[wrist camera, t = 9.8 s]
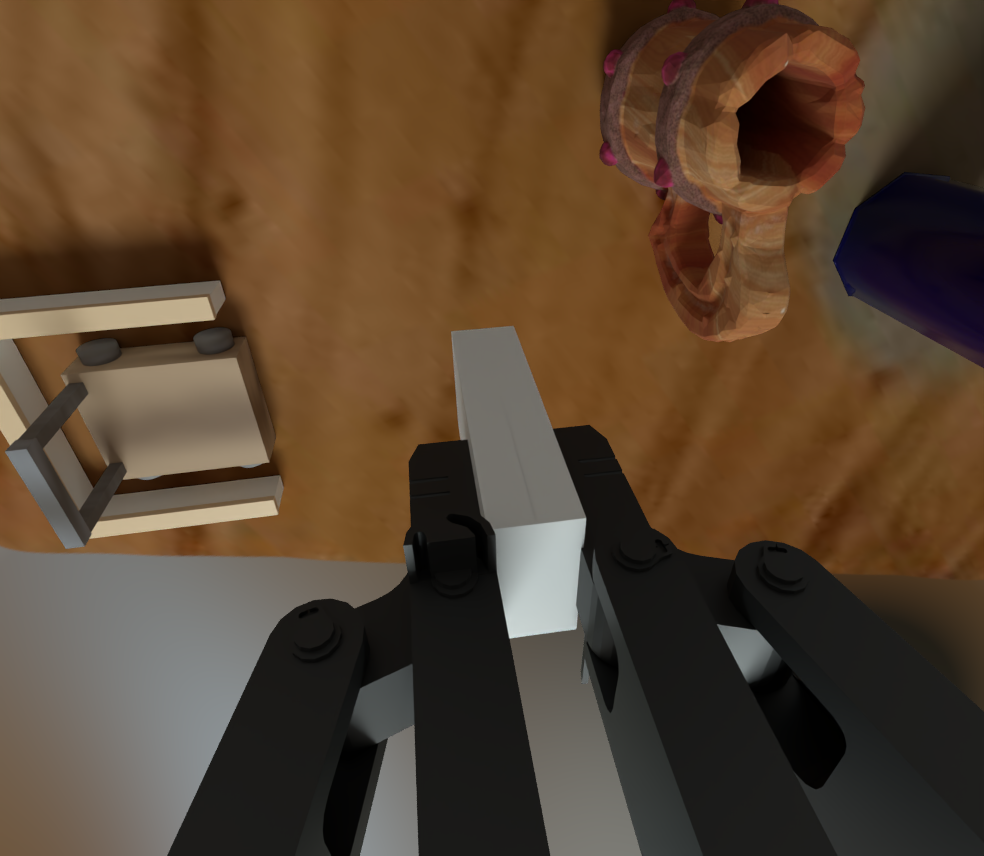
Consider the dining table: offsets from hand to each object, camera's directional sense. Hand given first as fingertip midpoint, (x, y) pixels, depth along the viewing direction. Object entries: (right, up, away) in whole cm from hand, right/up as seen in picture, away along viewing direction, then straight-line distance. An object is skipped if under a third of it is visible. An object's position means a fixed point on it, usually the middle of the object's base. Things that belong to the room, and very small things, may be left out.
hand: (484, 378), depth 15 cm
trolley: (-21, +1, +25) cm, 33 cm away
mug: (+9, +16, +21) cm, 28 cm away
